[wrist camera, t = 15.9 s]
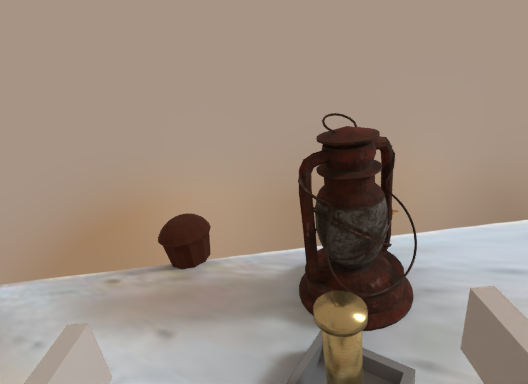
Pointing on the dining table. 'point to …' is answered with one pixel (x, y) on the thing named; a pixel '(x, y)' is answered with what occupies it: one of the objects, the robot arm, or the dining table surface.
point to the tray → (374, 368)
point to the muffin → (186, 240)
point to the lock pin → (342, 335)
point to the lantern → (353, 225)
